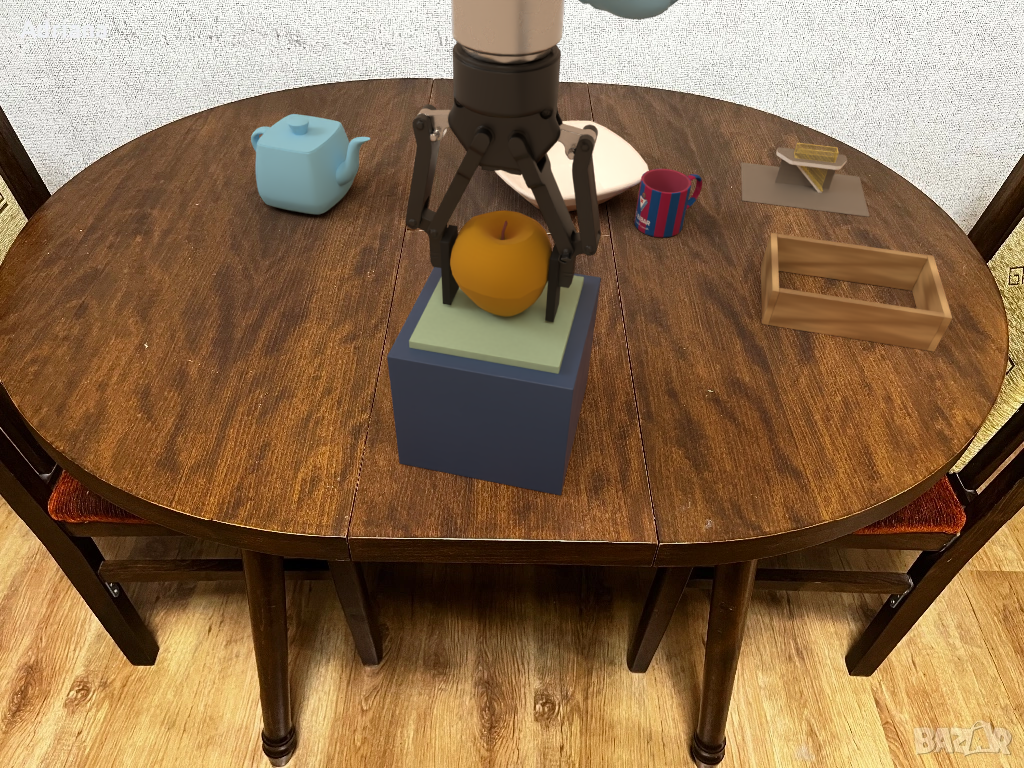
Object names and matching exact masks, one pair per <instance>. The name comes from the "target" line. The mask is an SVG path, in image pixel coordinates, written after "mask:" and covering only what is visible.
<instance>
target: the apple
mask: <svg viewBox="0 0 1024 768" xmlns="http://www.w3.org/2000/svg"><path fill="white" fill-rule="evenodd" d="M552 250H553V245H552V243H551V241H550V238H549V235H548V233H547V230H546V229H545V228H544V227H543V226H542V224H541V223H539V221H538V220H536V219H535V218H532V217H530V216H528V215H526V214H523V213H521V212H519V211H513V210H505V209H504V210H494V211H490V212H485V213H481V214H478V215H474V216H472V217H470V219H469V220H467V221H466V222H465V224H464V225H463V226H462V227H461V228H460V229H459V230H458V235H457V238H456V240H455V243H454V245H453V248H452V252H451V258H450V266H451V270H452V275H453V277H454V278H455V280H456V282H457V284H458V286H459V287H460V289H461V290H462V291H463V292H464V293H465V294H466V295H467V296H468V297H469V298H470V299H471V300H472V301H473V302H474V303H475V304H476V305H477V306H479V307H480V308H482V309H483V310H485V311H487V312H489V313H492V314H495V315H499V316H504V317H508V316H514V315H516V314H519V313H521V312H523V311H524V310H526V309H527V308H529V307H530V306H531V305H533V304H534V303H535V302H536V300H537V299H538V298H539V297H540V296H541V294H542V292H543V290H544V288H545V286H546V284H547V282H548V275H549V261H550V256H551V253H552Z"/></svg>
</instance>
